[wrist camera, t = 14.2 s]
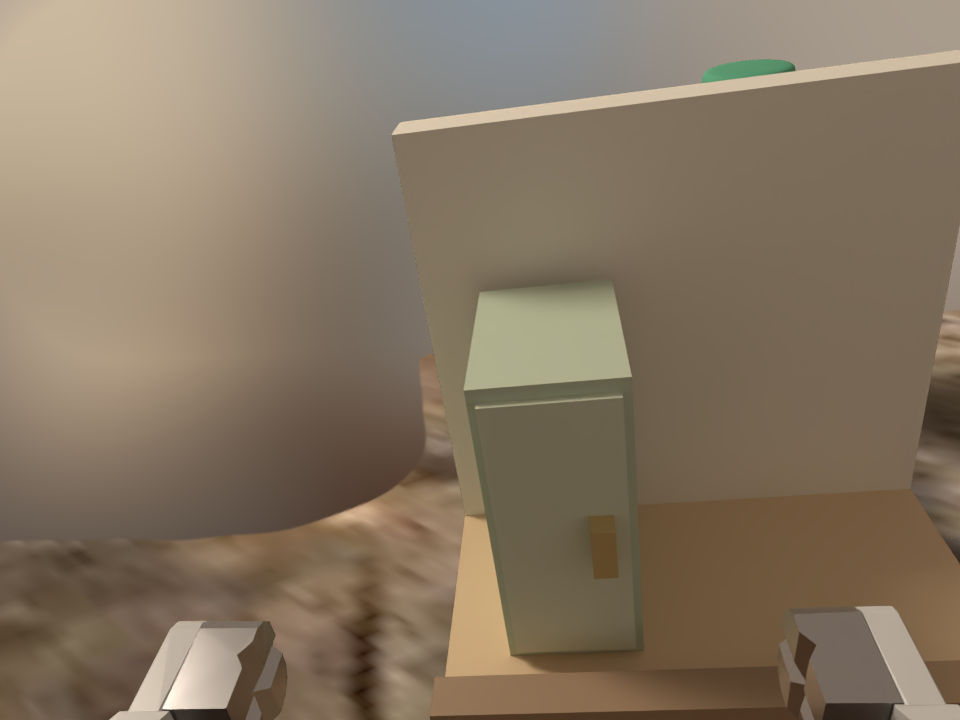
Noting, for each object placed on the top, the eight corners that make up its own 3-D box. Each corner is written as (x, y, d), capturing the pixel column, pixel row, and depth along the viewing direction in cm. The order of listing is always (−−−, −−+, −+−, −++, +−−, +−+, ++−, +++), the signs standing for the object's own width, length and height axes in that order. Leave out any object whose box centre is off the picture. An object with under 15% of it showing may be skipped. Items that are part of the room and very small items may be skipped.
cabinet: (509, 680, 27) (460, 410, 21) (515, 527, 34) (479, 291, 28) (647, 676, 27) (636, 397, 21) (625, 521, 34) (611, 278, 28)
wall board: (454, 809, 28) (304, 258, 17) (479, 546, 39) (400, 122, 28) (1039, 803, 25) (1305, 150, 14) (880, 525, 37) (961, 49, 26)
